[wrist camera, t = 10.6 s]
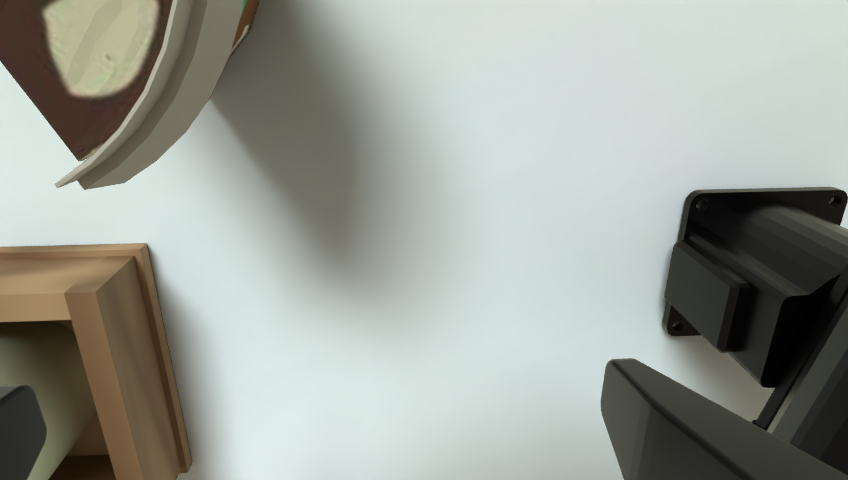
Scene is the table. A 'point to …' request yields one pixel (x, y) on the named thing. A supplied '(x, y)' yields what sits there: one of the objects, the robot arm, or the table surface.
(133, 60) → the food container
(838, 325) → the robot arm
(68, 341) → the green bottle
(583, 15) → the table surface
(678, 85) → the table surface
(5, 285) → the holder
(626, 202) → the table surface
